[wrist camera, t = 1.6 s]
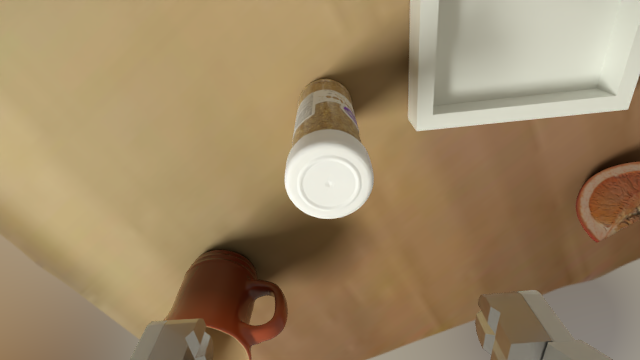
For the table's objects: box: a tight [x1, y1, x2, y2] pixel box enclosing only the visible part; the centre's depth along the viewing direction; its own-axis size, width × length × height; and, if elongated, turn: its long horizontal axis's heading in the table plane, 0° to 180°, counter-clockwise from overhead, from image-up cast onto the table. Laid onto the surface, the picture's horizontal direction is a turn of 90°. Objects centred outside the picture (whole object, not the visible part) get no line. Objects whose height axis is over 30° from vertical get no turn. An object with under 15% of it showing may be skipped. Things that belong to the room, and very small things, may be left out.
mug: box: [163, 250, 288, 360], centre depth 33 cm, size 12×9×10 cm
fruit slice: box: [576, 162, 640, 242], centre depth 31 cm, size 8×7×5 cm
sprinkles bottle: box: [285, 79, 374, 219], centre depth 23 cm, size 5×5×14 cm
